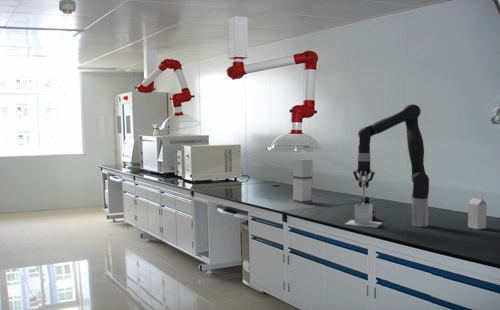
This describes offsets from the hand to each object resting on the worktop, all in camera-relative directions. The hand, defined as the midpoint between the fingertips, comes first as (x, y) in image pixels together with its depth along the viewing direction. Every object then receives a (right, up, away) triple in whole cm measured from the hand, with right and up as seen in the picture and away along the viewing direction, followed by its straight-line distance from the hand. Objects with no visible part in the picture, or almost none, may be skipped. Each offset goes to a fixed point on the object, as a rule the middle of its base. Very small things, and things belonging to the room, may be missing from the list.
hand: (363, 187), depth 303 cm
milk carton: (+66, -24, -11) cm, 71 cm away
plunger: (0, -12, +1) cm, 12 cm away
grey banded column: (-29, -18, +88) cm, 94 cm away
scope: (+7, -22, +21) cm, 31 cm away
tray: (0, -23, +1) cm, 23 cm away
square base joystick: (0, -23, +1) cm, 23 cm away
